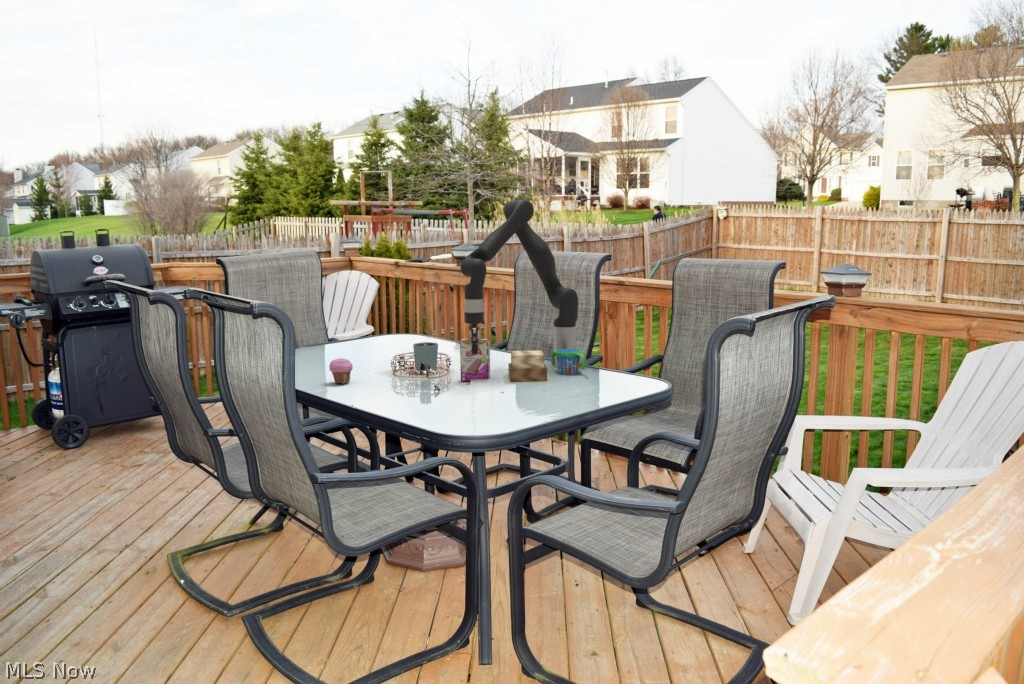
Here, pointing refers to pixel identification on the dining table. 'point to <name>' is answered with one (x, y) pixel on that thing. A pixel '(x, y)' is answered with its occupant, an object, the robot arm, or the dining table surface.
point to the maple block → (527, 359)
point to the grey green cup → (426, 355)
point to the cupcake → (341, 370)
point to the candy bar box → (474, 360)
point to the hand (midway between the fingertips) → (474, 352)
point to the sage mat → (507, 381)
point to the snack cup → (568, 361)
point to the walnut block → (527, 374)
